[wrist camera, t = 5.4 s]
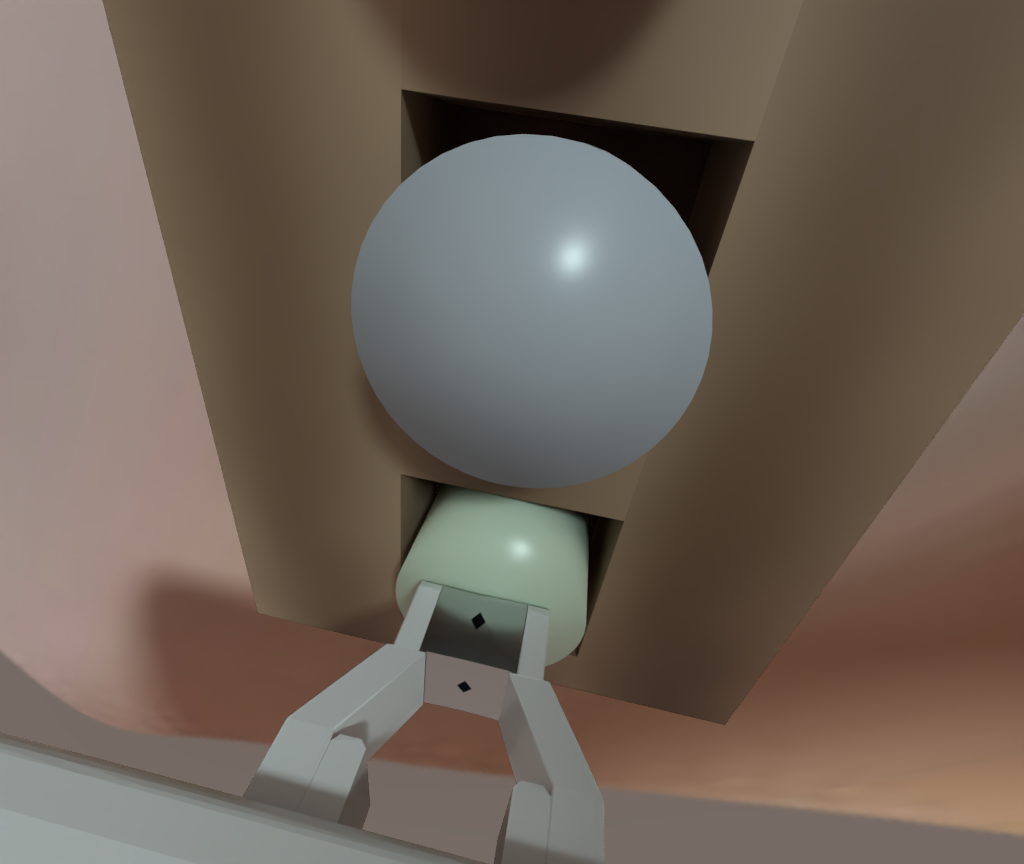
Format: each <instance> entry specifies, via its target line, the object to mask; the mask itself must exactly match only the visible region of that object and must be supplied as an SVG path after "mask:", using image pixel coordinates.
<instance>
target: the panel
mask: <svg viewBox="0 0 1024 864" xmlns="http://www.w3.org/2000/svg"><path fill="white" fill-rule="evenodd" d="M103 4H104V8H105V12H106V16H107V20H108V24H109V28H110V32H111V36H112V39H113V43H114V47H115V51H116V55H117V59H118V63H119V67H120V71H121V75H122V79H123V83H124V87H125V91H126V95H127V99H128V103H129V106H130V110H131V114H132V118H133V122H134V126H135V130H136V134H137V138H138V142H139V146H140V150H141V154H142V158H143V162H144V166H145V170H146V173H147V177H148V181H149V185H150V189H151V193H152V197H153V201H154V205H155V209H156V213H157V217H158V221H159V225H160V229H161V233H162V237H163V240H164V244H165V248H166V252H167V256H168V260H169V264H170V268H171V272H172V276H173V280H174V284H175V288H176V292H177V296H178V300H179V304H180V307H181V311H182V315H183V319H184V323H185V327H186V331H187V335H188V339H189V343H190V347H191V351H192V355H193V359H194V363H195V367H196V371H197V375H198V378H199V382H200V386H201V390H202V394H203V398H204V402H205V406H206V410H207V414H208V418H209V422H210V426H211V430H212V434H213V438H214V442H215V445H216V449H217V453H218V457H219V461H220V465H221V469H222V473H223V477H224V481H225V485H226V489H227V493H228V497H229V501H230V505H231V509H232V512H233V516H234V520H235V524H236V528H237V532H238V536H239V540H240V544H241V548H242V552H243V556H244V560H245V564H246V568H247V572H248V576H249V579H250V583H251V587H252V591H253V595H254V599H255V603H256V607H257V611H258V613H259V614H263V615H268V616H272V617H276V618H280V619H284V620H289V621H293V622H297V623H301V624H305V625H309V626H314V627H318V628H322V629H326V630H330V631H334V632H339V633H343V634H347V635H351V636H355V637H360V638H364V639H368V640H372V641H376V642H380V643H385V644H386V643H389V644H394V642H395V639H396V637H397V635H398V632H399V630H400V628H401V625H402V623H403V621H404V617H403V615H402V613H401V611H400V609H399V606H398V603H397V599H396V591H395V590H396V581H397V578H398V575H399V572H400V570H401V568H402V566H403V564H404V562H405V560H406V558H407V556H408V554H409V552H410V550H411V548H412V545H413V543H414V541H415V539H416V537H417V535H418V533H419V531H420V529H421V527H422V525H423V523H424V521H425V519H426V516H427V514H428V512H429V510H430V508H431V506H432V504H433V502H434V500H435V498H436V483H437V482H441V483H445V484H450V485H455V486H460V487H464V488H469V489H474V490H479V491H483V492H488V493H493V494H498V495H502V496H507V497H512V498H517V499H521V500H526V501H531V502H536V503H540V504H545V505H550V506H555V507H559V508H564V509H569V510H574V511H578V512H583V513H588V514H593V515H597V516H599V518H598V521H597V525H596V528H595V531H594V534H593V538H592V541H591V544H590V548H589V562H588V587H587V613H586V628H585V632H584V635H583V637H582V639H581V641H580V643H579V644H578V646H577V647H576V648H575V649H574V650H573V651H572V652H571V653H570V654H569V655H567V656H566V657H565V658H563V659H562V660H560V661H558V662H556V663H554V664H551V665H548V666H545V670H544V679H543V680H544V681H548V682H550V683H552V684H556V685H560V686H564V687H568V688H573V689H577V690H581V691H585V692H589V693H593V694H598V695H602V696H606V697H610V698H614V699H619V700H623V701H627V702H631V703H635V704H639V705H644V706H648V707H652V708H656V709H660V710H664V711H669V712H673V713H677V714H681V715H685V716H690V717H694V718H698V719H702V720H706V721H710V722H715V723H719V724H723V725H725V724H726V723H727V721H728V720H729V719H730V717H731V716H732V714H733V713H734V712H735V710H736V709H737V707H738V706H739V705H740V703H741V702H742V701H743V699H744V698H745V696H746V695H747V694H748V692H749V691H750V690H751V688H752V687H753V685H754V684H755V683H756V681H757V680H758V679H759V677H760V676H761V674H762V673H763V672H764V670H765V669H766V668H767V666H768V665H769V663H770V662H771V661H772V659H773V658H774V657H775V655H776V654H777V652H778V651H779V650H780V648H781V647H782V646H783V644H784V643H785V641H786V640H787V639H788V637H789V636H790V635H791V633H792V632H793V630H794V629H795V628H796V626H797V625H798V624H799V622H800V621H801V619H802V618H803V617H804V615H805V614H806V613H807V611H808V610H809V608H810V607H811V606H812V604H813V603H814V601H815V600H816V599H817V597H818V596H819V595H820V593H821V592H822V590H823V589H824V588H825V586H826V585H827V584H828V582H829V581H830V579H831V578H832V577H833V575H834V574H835V573H836V571H837V570H838V568H839V567H840V566H841V564H842V563H843V562H844V560H845V559H846V557H847V556H848V555H849V553H850V552H851V551H852V549H853V548H854V546H855V545H856V544H857V542H858V541H859V540H860V538H861V537H862V535H863V534H864V533H865V531H866V530H867V529H868V527H869V526H870V524H871V523H872V522H873V520H874V519H875V518H876V516H877V515H878V513H879V512H880V511H881V509H882V508H883V506H884V505H885V504H886V502H887V501H888V500H889V498H890V497H891V495H892V494H893V493H894V491H895V490H896V489H897V487H898V486H899V484H900V483H901V482H902V480H903V479H904V478H905V476H906V475H907V473H908V472H909V471H910V469H911V468H912V467H913V465H914V464H915V462H916V461H917V460H918V458H919V457H920V456H921V454H922V453H923V451H924V450H925V449H926V447H927V446H928V445H929V443H930V442H931V440H932V439H933V438H934V436H935V435H936V434H937V432H938V431H939V429H940V428H941V427H942V425H943V424H944V423H945V421H946V420H947V418H948V417H949V416H950V414H951V413H952V412H953V410H954V409H955V407H956V406H957V405H958V403H959V402H960V400H961V399H962V398H963V396H964V395H965V394H966V392H967V391H968V389H969V388H970V387H971V385H972V384H973V383H974V381H975V380H976V378H977V377H978V376H979V374H980V373H981V372H982V370H983V369H984V367H985V366H986V365H987V363H988V362H989V361H990V359H991V358H992V356H993V355H994V354H995V352H996V351H997V350H998V348H999V347H1000V345H1001V344H1002V343H1003V341H1004V340H1005V339H1006V337H1007V336H1008V334H1009V333H1010V332H1011V330H1012V329H1013V328H1014V326H1015V325H1016V323H1017V322H1018V321H1019V319H1020V318H1021V317H1022V315H1023V314H1024V0H103ZM457 105H460V106H467V107H474V108H480V109H487V110H494V111H501V112H507V113H514V114H521V115H528V116H534V117H541V118H548V119H555V120H561V121H568V122H575V123H582V124H588V125H595V126H602V127H609V128H615V129H622V130H629V131H636V132H642V133H649V134H656V135H663V136H669V137H676V138H683V139H690V140H696V141H703V142H710V143H712V146H711V149H710V152H709V156H708V159H707V162H706V165H705V169H704V172H703V175H702V179H701V182H700V185H699V188H698V192H697V195H696V198H695V202H694V205H693V208H692V212H691V215H690V218H689V221H688V225H687V228H688V229H689V231H690V232H691V235H692V237H693V239H694V241H695V243H696V245H697V248H698V250H699V252H700V254H701V256H702V260H703V263H704V267H705V270H706V273H707V277H708V280H709V286H710V293H711V301H712V337H711V344H710V350H709V357H708V360H707V363H706V366H705V370H704V373H703V376H702V379H701V382H700V384H699V386H698V388H697V390H696V392H695V395H694V397H693V399H692V401H691V402H690V404H689V405H688V407H687V409H686V410H685V412H684V413H683V415H682V416H681V418H680V419H679V421H678V422H677V423H676V424H675V425H674V426H673V428H672V429H671V430H670V431H669V432H668V434H667V435H666V436H665V437H664V438H663V439H662V440H660V441H659V442H658V443H657V444H656V445H655V446H654V447H653V448H652V449H651V450H649V451H648V452H646V453H645V454H644V455H642V456H641V457H640V458H638V459H637V460H635V461H634V462H632V463H630V464H628V465H627V466H625V467H623V468H621V469H619V470H618V471H616V472H613V473H611V474H608V475H606V476H603V477H601V478H598V479H595V480H592V481H588V482H585V483H581V484H577V485H571V486H565V487H557V488H520V487H514V486H507V485H501V484H497V483H493V482H490V481H486V480H482V479H479V478H477V477H474V476H471V475H469V474H466V473H464V472H462V471H460V470H458V469H456V468H454V467H452V466H450V465H448V464H446V463H444V462H443V461H441V460H439V459H438V458H436V457H435V456H433V455H432V454H430V453H429V452H427V451H426V450H425V449H424V448H422V447H421V446H420V445H419V444H417V443H416V442H415V441H414V440H413V439H412V438H411V437H410V436H409V435H408V434H406V433H405V432H404V431H403V430H402V429H401V428H400V427H399V425H398V424H397V423H396V422H395V421H394V419H393V418H392V417H391V416H390V415H389V413H388V412H387V411H386V409H385V408H384V406H383V405H382V403H381V402H380V400H379V399H378V397H377V396H376V394H375V392H374V390H373V388H372V386H371V384H370V382H369V380H368V378H367V376H366V374H365V371H364V368H363V366H362V363H361V360H360V358H359V354H358V350H357V346H356V342H355V338H354V332H353V324H352V315H351V291H352V284H353V277H354V270H355V266H356V262H357V259H358V255H359V252H360V248H361V245H362V243H363V241H364V239H365V236H366V234H367V232H368V229H369V227H370V225H371V223H372V222H373V220H374V218H375V217H376V215H377V214H378V212H379V211H380V209H381V207H382V206H383V204H384V203H385V202H386V201H387V199H388V198H389V197H390V196H391V195H392V194H393V192H394V191H395V190H396V189H397V188H398V187H399V185H400V184H401V183H403V182H404V181H405V180H406V179H407V178H408V177H410V176H411V175H412V174H413V173H414V172H415V171H417V170H418V169H419V168H420V167H422V166H423V165H425V164H427V163H428V162H430V161H432V160H433V159H435V158H436V157H438V156H440V155H441V154H443V153H445V152H448V151H450V150H452V149H454V144H455V126H456V107H457Z"/></svg>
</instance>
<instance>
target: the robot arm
mask: <svg viewBox="0 0 1024 864" xmlns="http://www.w3.org/2000/svg"><path fill="white" fill-rule="evenodd" d="M527 605H528V604H524V603H519V602H514V601H510V600H505V599H500V598H495V597H491V596H486V595H485V596H482V595H478V594H474V593H470V592H466V591H462V590H458V589H455V588H451V587H447V586H443V585H439V584H434V583H430V582H426V581H422V582H421V583H420V585H419V586H418V588H417V590H416V593H415V595H414V597H413V600H412V602H411V604H410V607H409V609H408V611H407V614H406V616H405V618H404V621H403V623H402V625H401V628H400V630H399V632H398V635H397V637H396V639H395V642H394V644H389V643H386V644H385V645H384V646H382V647H381V648H380V649H378V650H377V651H376V652H374V653H373V654H372V655H370V656H369V657H368V658H366V659H365V660H364V661H362V662H361V663H360V664H358V665H357V666H356V667H354V668H353V669H352V670H350V671H349V672H348V673H346V674H345V675H344V676H342V677H341V678H340V679H338V680H337V681H336V682H334V683H333V684H331V685H330V686H329V687H327V688H326V689H325V690H323V691H322V692H321V693H319V694H318V695H317V696H315V697H314V698H313V699H311V700H310V701H309V702H307V703H306V704H305V705H303V706H302V707H301V708H299V709H298V710H297V711H295V712H294V713H293V714H291V715H290V716H289V717H287V719H286V720H285V722H284V724H283V726H282V728H281V729H280V731H279V733H278V735H277V736H276V738H275V740H274V742H273V744H272V745H271V747H270V749H269V751H268V752H267V754H266V756H265V758H264V760H263V761H262V763H261V765H260V767H259V769H258V770H257V772H256V774H255V776H254V778H253V779H252V781H251V783H250V785H249V786H248V788H247V790H246V792H245V794H244V795H243V797H239V796H235V795H232V794H228V793H224V792H220V791H217V790H213V789H210V788H206V787H202V786H198V785H195V784H191V783H187V782H183V781H180V780H176V779H172V778H169V777H165V776H161V775H158V774H154V773H150V772H146V771H143V770H139V769H135V768H132V767H128V766H124V765H120V764H116V763H113V762H109V761H106V760H102V759H98V758H94V757H91V756H87V755H83V754H80V753H76V752H72V751H68V750H65V749H61V748H57V747H54V746H50V745H46V744H43V743H39V742H35V741H31V740H28V739H24V738H20V737H17V736H13V735H9V734H6V733H2V732H0V864H487V863H484V862H480V861H476V860H472V859H469V858H465V857H462V856H458V855H454V854H450V853H447V852H443V851H439V850H435V849H432V848H428V847H424V846H421V845H416V844H413V843H409V842H406V841H402V840H398V839H395V838H391V837H387V836H384V835H380V834H376V833H373V832H368V831H365V830H362V828H363V825H364V822H365V819H366V816H367V813H368V810H369V807H370V798H369V784H368V770H367V762H368V761H369V760H370V758H371V757H372V756H373V755H374V754H375V753H376V752H377V751H378V750H379V749H380V748H381V747H382V746H383V745H384V744H385V743H386V742H387V741H388V740H389V739H390V738H391V737H392V736H393V735H394V734H395V733H396V732H397V731H398V730H399V729H400V728H401V727H402V726H403V725H404V724H405V723H406V722H407V721H408V720H409V719H410V718H411V716H412V715H413V714H414V713H415V712H416V711H417V710H418V709H419V708H420V707H421V706H422V705H423V702H426V703H430V704H435V705H440V706H444V707H449V708H453V709H458V710H462V711H466V712H470V713H473V714H477V715H480V716H484V717H488V718H491V719H495V720H498V721H499V722H498V723H499V727H500V730H501V734H502V737H503V740H504V744H505V747H506V751H507V754H508V757H509V761H510V764H511V767H512V771H513V774H514V778H515V781H516V785H515V786H514V787H513V790H512V793H511V796H510V800H509V803H508V806H507V810H506V813H505V816H504V820H503V823H502V826H501V830H500V833H499V837H498V840H497V846H496V852H495V858H494V864H604V798H603V796H602V794H601V792H600V789H599V787H598V785H597V783H596V781H595V779H594V776H593V774H592V772H591V770H590V768H589V766H588V763H587V761H586V759H585V757H584V755H583V753H582V750H581V748H580V746H579V744H578V742H577V740H576V737H575V735H574V733H573V731H572V729H571V726H570V724H569V722H568V720H567V718H566V716H565V713H564V711H563V709H562V707H561V705H560V703H559V700H558V698H557V696H556V694H555V692H554V690H553V687H552V685H551V683H550V682H548V681H544V680H543V679H544V670H545V661H546V652H547V643H548V634H549V625H550V617H551V613H550V610H549V609H544V608H539V607H535V606H530V605H528V606H527Z"/></svg>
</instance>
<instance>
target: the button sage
mask: <svg viewBox="0 0 1024 864" xmlns="http://www.w3.org/2000/svg"><path fill="white" fill-rule="evenodd" d="M589 537H590V521H589V515H588V513H583V512H578V511H574V510H569V509H564V508H559V507H555V506H550V505H545V504H540V503H536V502H531V501H526V500H521V499H517V498H512V497H507V496H502V495H498V494H493V493H488V492H483V491H479V490H474V489H469V488H464V487H460V486H455V485H450V484H445V483H443V484H442V486H441V488H440V490H439V492H438V494H437V496H436V498H435V500H434V502H433V504H432V506H431V508H430V510H429V512H428V514H427V516H426V519H425V521H424V523H423V525H422V527H421V529H420V531H419V533H418V535H417V537H416V539H415V541H414V543H413V545H412V548H411V550H410V552H409V554H408V556H407V558H406V560H405V562H404V564H403V566H402V568H401V570H400V572H399V575H398V578H397V581H396V590H395V591H396V599H397V603H398V606H399V609H400V611H401V613H402V615H403V617H404V618H405V616H406V614H407V611H408V609H409V607H410V604H411V602H412V600H413V597H414V595H415V593H416V590H417V588H418V586H419V585H420V583H421V582H422V581H426V582H430V583H434V584H439V585H443V586H447V587H451V588H455V589H458V590H462V591H466V592H470V593H474V594H478V595H482V596H485V595H486V596H491V597H495V598H500V599H505V600H510V601H514V602H519V603H524V604H528V605H530V606H535V607H539V608H544V609H549V610H550V613H551V617H550V625H549V634H548V643H547V652H546V661H545V666H548V665H551V664H554V663H556V662H558V661H560V660H562V659H563V658H565V657H566V656H567V655H569V654H570V653H571V652H572V651H573V650H574V649H575V648H576V647H577V646H578V644H579V643H580V641H581V639H582V637H583V635H584V632H585V628H586V613H587V587H588V562H589ZM528 605H527V606H528Z"/></svg>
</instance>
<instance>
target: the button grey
mask: <svg viewBox="0 0 1024 864" xmlns="http://www.w3.org/2000/svg"><path fill="white" fill-rule="evenodd" d="M351 315H352V324H353V332H354V338H355V342H356V346H357V350H358V354H359V358H360V360H361V363H362V366H363V368H364V371H365V374H366V376H367V378H368V380H369V382H370V384H371V386H372V388H373V390H374V392H375V394H376V396H377V397H378V399H379V400H380V402H381V403H382V405H383V406H384V408H385V409H386V411H387V412H388V413H389V415H390V416H391V417H392V418H393V419H394V421H395V422H396V423H397V424H398V425H399V427H400V428H401V429H402V430H403V431H404V432H405V433H406V434H408V435H409V436H410V437H411V438H412V439H413V440H414V441H415V442H416V443H417V444H419V445H420V446H421V447H422V448H424V449H425V450H426V451H427V452H429V453H430V454H432V455H433V456H435V457H436V458H438V459H439V460H441V461H443V462H444V463H446V464H448V465H450V466H452V467H454V468H456V469H458V470H460V471H462V472H464V473H466V474H469V475H471V476H474V477H477V478H479V479H482V480H486V481H490V482H493V483H497V484H501V485H507V486H514V487H520V488H557V487H565V486H571V485H577V484H581V483H585V482H588V481H592V480H595V479H598V478H601V477H603V476H606V475H608V474H611V473H613V472H616V471H618V470H619V469H621V468H623V467H625V466H627V465H628V464H630V463H632V462H634V461H635V460H637V459H638V458H640V457H641V456H642V455H644V454H645V453H646V452H648V451H649V450H651V449H652V448H653V447H654V446H655V445H656V444H657V443H658V442H659V441H660V440H662V439H663V438H664V437H665V436H666V435H667V434H668V432H669V431H670V430H671V429H672V428H673V426H674V425H675V424H676V423H677V422H678V421H679V419H680V418H681V416H682V415H683V413H684V412H685V410H686V409H687V407H688V405H689V404H690V402H691V401H692V399H693V397H694V395H695V392H696V390H697V388H698V386H699V384H700V382H701V379H702V376H703V373H704V370H705V366H706V363H707V360H708V357H709V350H710V344H711V337H712V301H711V293H710V286H709V280H708V277H707V273H706V270H705V267H704V263H703V260H702V256H701V254H700V252H699V250H698V248H697V245H696V243H695V241H694V239H693V237H692V235H691V232H690V231H689V229H688V228H687V226H686V225H685V223H684V222H683V220H682V218H681V217H680V215H679V214H678V212H677V211H676V209H675V208H674V207H673V206H672V205H671V203H670V202H669V201H668V200H667V199H666V198H665V197H664V196H663V195H662V193H661V192H660V191H659V190H658V189H657V188H656V187H655V186H654V185H653V184H652V183H650V182H649V181H648V180H647V179H645V178H644V177H643V176H642V175H641V174H639V173H638V172H637V171H636V170H635V169H633V168H632V167H631V166H629V165H628V164H627V163H625V162H624V161H622V160H621V159H619V158H617V157H616V156H614V155H612V154H611V153H609V152H607V151H605V150H603V149H600V148H598V147H595V146H593V145H590V144H586V143H582V142H578V141H573V140H569V139H564V138H559V137H555V136H545V135H531V134H517V135H505V136H494V137H490V138H486V139H482V140H478V141H474V142H470V143H467V144H464V145H462V146H460V147H457V148H455V149H452V150H450V151H448V152H445V153H443V154H441V155H440V156H438V157H436V158H435V159H433V160H432V161H430V162H428V163H427V164H425V165H423V166H422V167H420V168H419V169H418V170H417V171H415V172H414V173H413V174H412V175H411V176H410V177H408V178H407V179H406V180H405V181H404V182H403V183H401V184H400V185H399V187H398V188H397V189H396V190H395V191H394V192H393V194H392V195H391V196H390V197H389V198H388V199H387V201H386V202H385V203H384V204H383V206H382V207H381V209H380V211H379V212H378V214H377V215H376V217H375V218H374V220H373V222H372V223H371V225H370V227H369V229H368V232H367V234H366V236H365V239H364V241H363V243H362V245H361V248H360V252H359V255H358V259H357V262H356V266H355V270H354V277H353V284H352V291H351Z"/></svg>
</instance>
